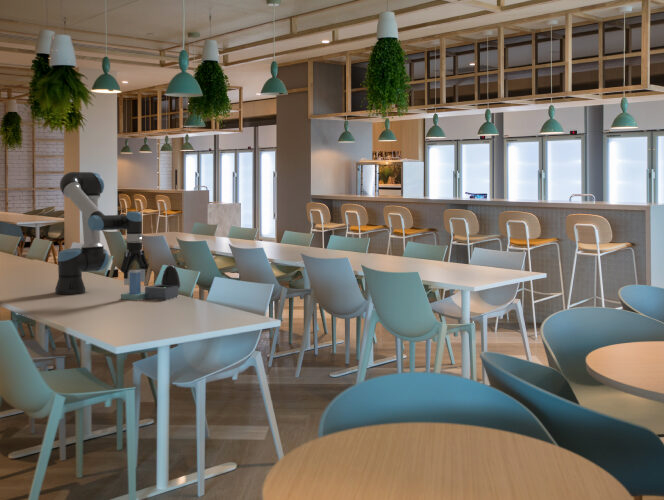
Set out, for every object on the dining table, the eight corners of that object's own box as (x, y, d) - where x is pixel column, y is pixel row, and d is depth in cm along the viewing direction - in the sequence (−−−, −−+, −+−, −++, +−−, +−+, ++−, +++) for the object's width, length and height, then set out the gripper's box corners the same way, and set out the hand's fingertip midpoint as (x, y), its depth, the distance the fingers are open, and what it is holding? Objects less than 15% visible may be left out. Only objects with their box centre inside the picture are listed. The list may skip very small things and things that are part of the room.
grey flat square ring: (120, 298, 352) (120, 294, 352) (132, 296, 361) (132, 291, 361) (137, 300, 349) (137, 295, 349) (149, 297, 358) (148, 292, 358)
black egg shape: (183, 292, 377) (182, 264, 376) (176, 295, 367) (176, 266, 365) (164, 291, 378) (164, 264, 377) (158, 294, 368) (158, 266, 366)
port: (145, 298, 353) (144, 286, 353) (158, 295, 365) (158, 283, 364) (165, 300, 349) (165, 287, 349) (178, 296, 361) (178, 284, 360)
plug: (129, 298, 354) (128, 270, 353) (134, 297, 358) (133, 269, 357) (136, 299, 352) (135, 271, 351) (140, 297, 356) (140, 270, 355)
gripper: (125, 243, 340) (126, 286, 341) (154, 240, 363) (154, 280, 365) (113, 243, 342) (113, 285, 344) (142, 240, 366) (142, 279, 367)
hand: (134, 283), depth 354 cm, fingers open, 13 cm apart
